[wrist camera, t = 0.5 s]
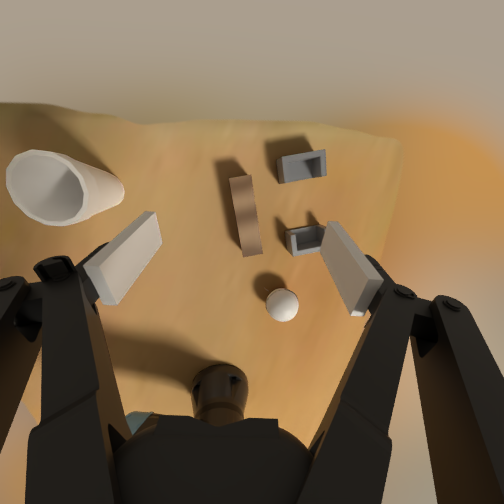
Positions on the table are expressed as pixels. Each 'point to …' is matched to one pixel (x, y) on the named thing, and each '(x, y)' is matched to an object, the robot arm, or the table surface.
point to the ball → (282, 304)
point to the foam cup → (60, 188)
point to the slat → (246, 215)
